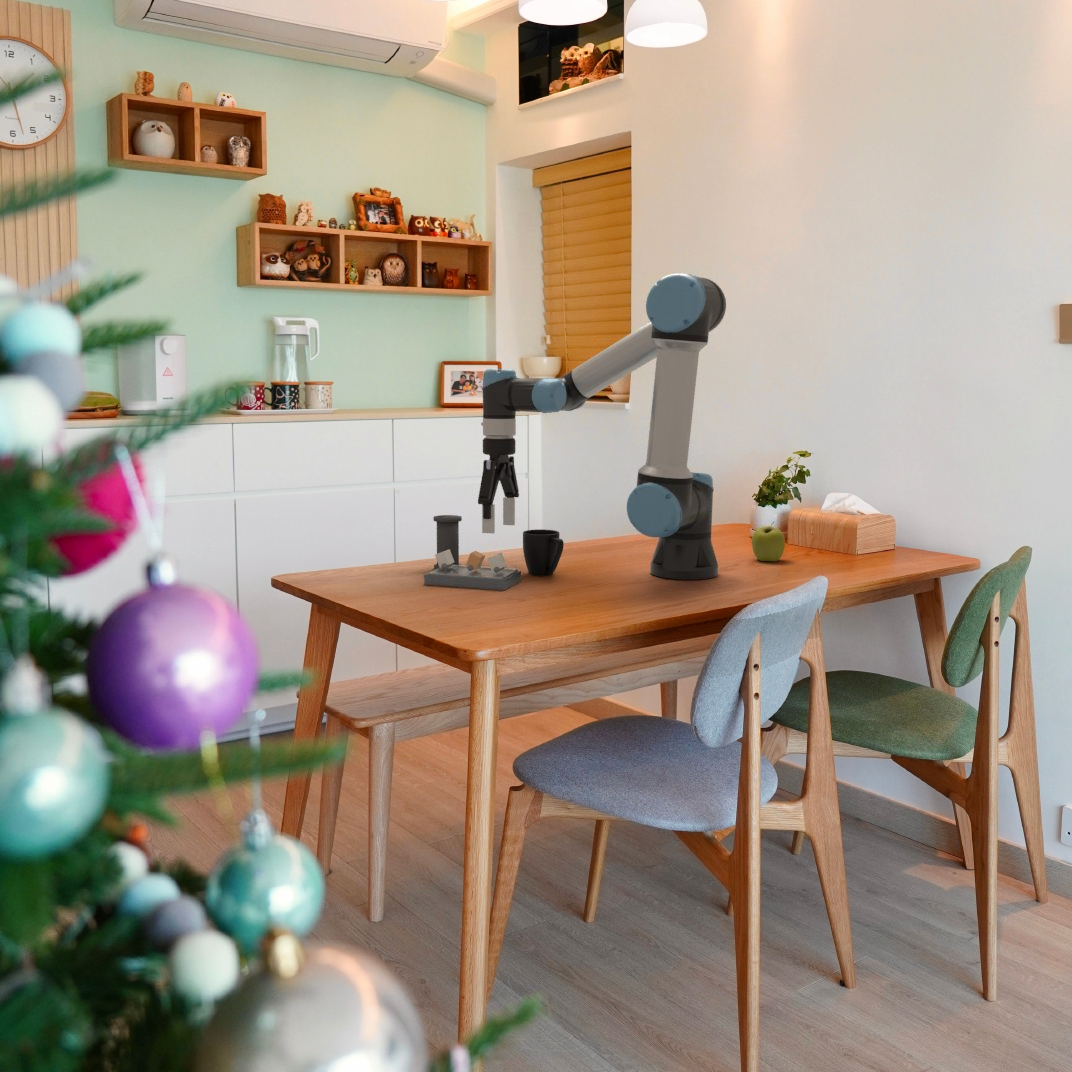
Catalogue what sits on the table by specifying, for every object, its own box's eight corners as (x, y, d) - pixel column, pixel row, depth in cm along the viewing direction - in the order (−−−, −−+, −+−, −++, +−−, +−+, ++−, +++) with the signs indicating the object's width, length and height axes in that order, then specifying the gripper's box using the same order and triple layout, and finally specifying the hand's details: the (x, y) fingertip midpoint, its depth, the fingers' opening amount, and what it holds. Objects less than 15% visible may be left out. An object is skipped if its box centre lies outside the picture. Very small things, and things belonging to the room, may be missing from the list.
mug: (544, 581, 231) (544, 538, 229) (515, 572, 241) (516, 530, 239) (575, 577, 235) (576, 535, 233) (546, 569, 245) (546, 528, 244)
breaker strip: (521, 580, 231) (521, 568, 231) (503, 590, 221) (503, 577, 220) (444, 575, 237) (444, 563, 236) (424, 584, 226) (424, 571, 226)
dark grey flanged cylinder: (466, 567, 247) (465, 515, 245) (455, 571, 241) (455, 519, 239) (440, 565, 249) (440, 514, 247) (429, 570, 243) (428, 518, 241)
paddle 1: (456, 564, 231) (450, 548, 231) (449, 567, 228) (443, 551, 228) (446, 567, 232) (440, 552, 232) (440, 570, 229) (434, 555, 229)
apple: (764, 551, 264) (774, 515, 260) (786, 566, 258) (796, 528, 254) (740, 554, 260) (750, 517, 256) (762, 569, 254) (772, 531, 250)
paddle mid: (480, 570, 230) (485, 555, 229) (473, 573, 226) (479, 558, 226) (470, 565, 230) (476, 550, 229) (464, 568, 227) (469, 553, 226)
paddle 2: (508, 567, 228) (502, 552, 228) (502, 570, 224) (496, 554, 224) (498, 571, 229) (492, 555, 228) (492, 574, 225) (486, 558, 225)
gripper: (502, 433, 257) (502, 521, 260) (463, 439, 233) (463, 535, 237) (532, 434, 254) (531, 522, 258) (495, 440, 231) (495, 537, 234)
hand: (499, 529), depth 247 cm, fingers open, 13 cm apart
